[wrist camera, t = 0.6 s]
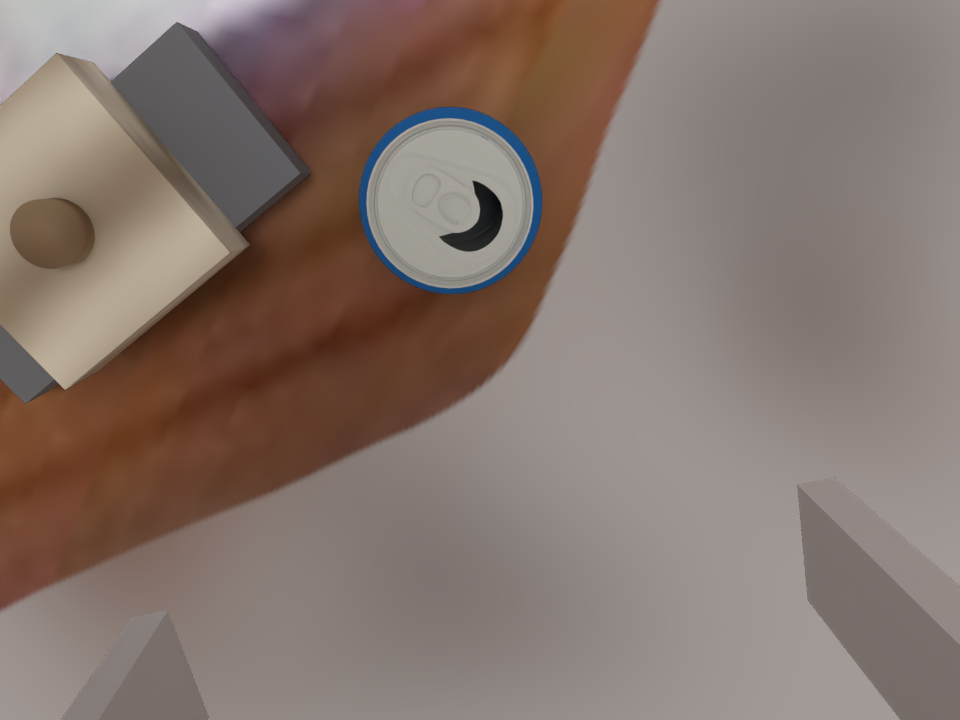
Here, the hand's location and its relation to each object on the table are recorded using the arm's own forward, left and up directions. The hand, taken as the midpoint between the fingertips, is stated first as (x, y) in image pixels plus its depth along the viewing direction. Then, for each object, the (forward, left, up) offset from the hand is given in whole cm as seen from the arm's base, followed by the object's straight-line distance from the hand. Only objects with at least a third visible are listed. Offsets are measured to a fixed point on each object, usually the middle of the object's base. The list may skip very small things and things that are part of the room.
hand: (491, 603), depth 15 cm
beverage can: (-6, +4, -24) cm, 25 cm away
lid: (-15, -10, -21) cm, 28 cm away
